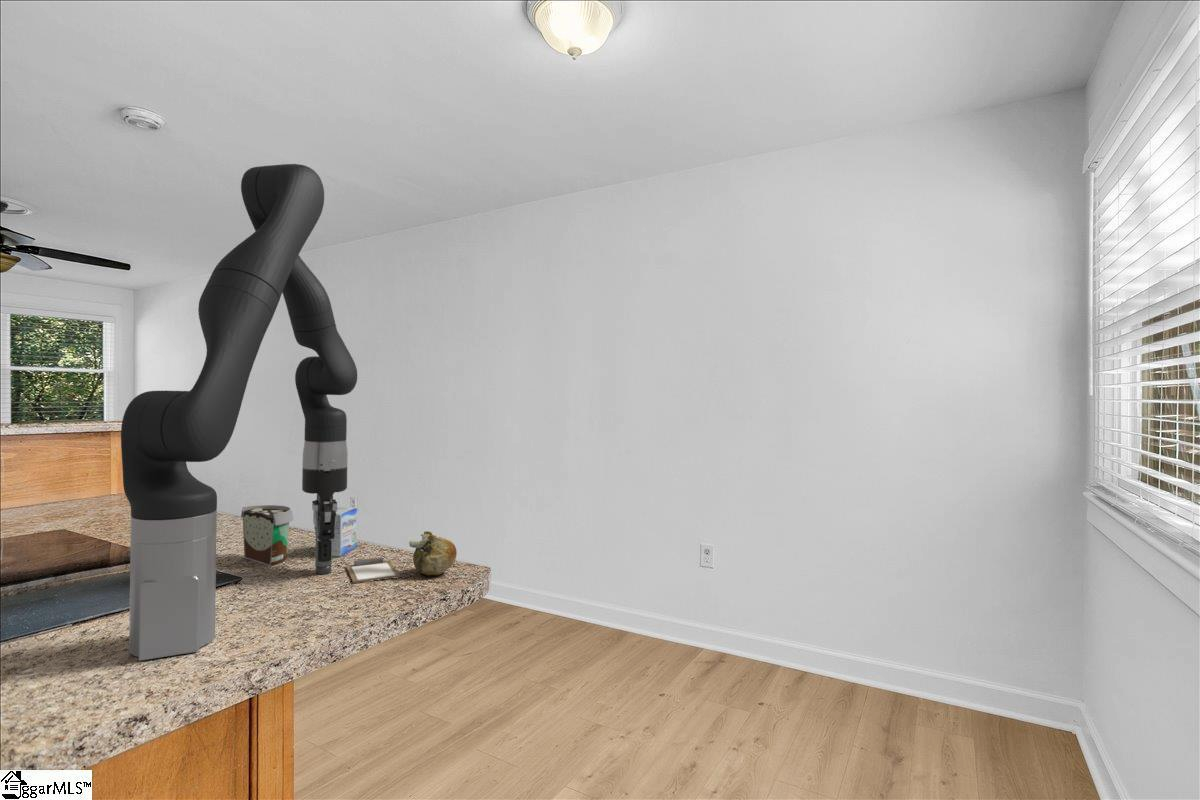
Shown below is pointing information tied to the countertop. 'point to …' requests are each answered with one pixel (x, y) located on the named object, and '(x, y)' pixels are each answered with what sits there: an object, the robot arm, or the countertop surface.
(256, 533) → the food container
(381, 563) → the clipboard
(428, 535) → the onion
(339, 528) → the medicine box
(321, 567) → the marker
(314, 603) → the countertop surface
